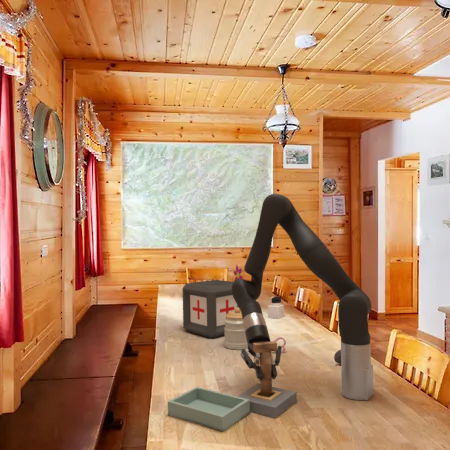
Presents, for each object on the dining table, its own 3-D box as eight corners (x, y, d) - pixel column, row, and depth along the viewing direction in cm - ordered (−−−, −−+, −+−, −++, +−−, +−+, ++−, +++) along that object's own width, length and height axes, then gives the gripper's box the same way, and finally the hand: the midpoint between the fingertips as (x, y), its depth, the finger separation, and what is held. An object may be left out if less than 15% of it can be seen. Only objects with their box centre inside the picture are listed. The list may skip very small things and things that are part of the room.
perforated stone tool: (337, 367, 173) (336, 349, 173) (331, 363, 178) (330, 345, 178) (372, 364, 176) (372, 346, 176) (365, 360, 181) (365, 342, 181)
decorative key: (242, 361, 192) (287, 351, 194) (242, 362, 191) (287, 352, 193) (239, 345, 192) (284, 336, 194) (239, 346, 191) (284, 336, 193)
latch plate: (296, 401, 141) (296, 390, 141) (275, 418, 130) (275, 406, 130) (258, 392, 149) (258, 382, 149) (235, 407, 138) (234, 396, 138)
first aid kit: (211, 340, 216) (210, 288, 216) (180, 331, 235) (179, 283, 235) (248, 331, 233) (247, 282, 233) (217, 323, 252) (216, 278, 251)
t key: (275, 398, 142) (273, 340, 142) (279, 403, 138) (277, 343, 138) (254, 401, 141) (252, 342, 140) (257, 405, 137) (255, 345, 137)
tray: (250, 413, 134) (249, 399, 133) (222, 431, 122) (222, 417, 122) (197, 398, 145) (196, 386, 145) (167, 414, 133) (167, 401, 133)
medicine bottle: (284, 316, 265) (284, 296, 265) (279, 319, 259) (278, 298, 259) (273, 315, 269) (273, 295, 269) (268, 317, 263) (267, 297, 263)
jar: (250, 350, 197) (249, 310, 197) (221, 349, 200) (220, 310, 200) (254, 342, 210) (253, 305, 210) (227, 341, 213) (226, 304, 213)
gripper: (236, 325, 145) (247, 375, 133) (278, 322, 148) (292, 370, 136) (233, 337, 150) (243, 386, 139) (273, 334, 153) (287, 382, 142)
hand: (267, 378), depth 138 cm, fingers closed on t key, 3 cm apart
